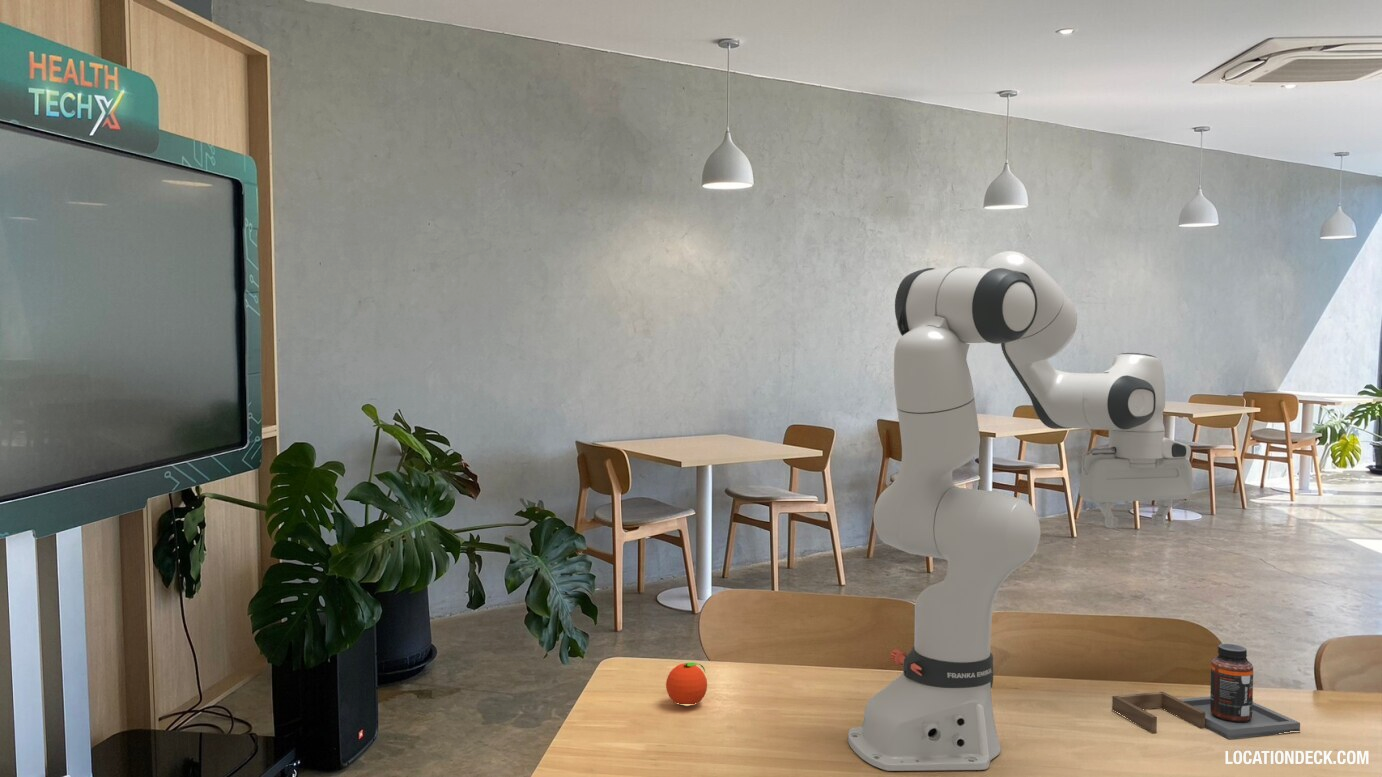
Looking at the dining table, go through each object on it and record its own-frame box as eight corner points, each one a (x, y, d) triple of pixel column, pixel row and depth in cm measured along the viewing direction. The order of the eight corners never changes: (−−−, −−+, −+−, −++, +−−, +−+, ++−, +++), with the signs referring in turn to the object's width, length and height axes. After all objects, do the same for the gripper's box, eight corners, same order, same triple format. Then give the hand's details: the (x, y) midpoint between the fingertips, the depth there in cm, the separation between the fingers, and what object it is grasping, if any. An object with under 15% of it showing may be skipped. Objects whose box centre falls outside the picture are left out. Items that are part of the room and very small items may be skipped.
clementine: (690, 693, 166) (690, 652, 166) (720, 703, 162) (720, 661, 161) (657, 705, 161) (657, 663, 160) (686, 716, 156) (686, 672, 156)
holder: (1152, 733, 149) (1152, 717, 149) (1112, 710, 158) (1112, 696, 158) (1205, 728, 151) (1205, 712, 151) (1162, 706, 160) (1162, 691, 160)
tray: (1229, 739, 146) (1229, 729, 146) (1168, 709, 159) (1169, 700, 159) (1299, 732, 149) (1300, 722, 149) (1235, 702, 162) (1235, 694, 162)
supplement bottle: (1258, 725, 151) (1259, 653, 150) (1216, 722, 152) (1218, 651, 152) (1244, 711, 157) (1246, 642, 156) (1205, 708, 158) (1206, 640, 157)
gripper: (1094, 449, 160) (1093, 531, 161) (1199, 447, 165) (1198, 527, 165) (1071, 446, 167) (1070, 525, 167) (1173, 444, 171) (1172, 521, 172)
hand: (1135, 526), depth 166 cm, fingers open, 8 cm apart
